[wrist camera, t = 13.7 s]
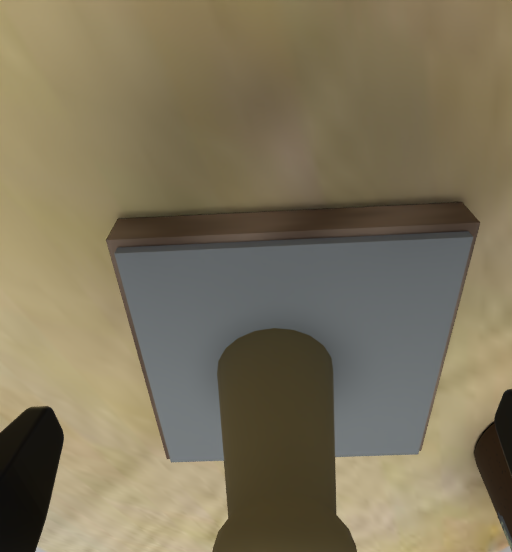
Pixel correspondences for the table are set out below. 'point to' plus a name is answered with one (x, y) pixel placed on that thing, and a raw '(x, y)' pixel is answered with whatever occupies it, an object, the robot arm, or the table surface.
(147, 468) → the table surface
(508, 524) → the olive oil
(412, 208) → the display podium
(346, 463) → the table surface
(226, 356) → the brown rounded upright piece
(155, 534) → the table surface
